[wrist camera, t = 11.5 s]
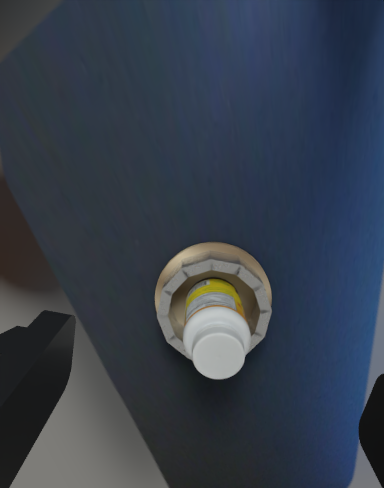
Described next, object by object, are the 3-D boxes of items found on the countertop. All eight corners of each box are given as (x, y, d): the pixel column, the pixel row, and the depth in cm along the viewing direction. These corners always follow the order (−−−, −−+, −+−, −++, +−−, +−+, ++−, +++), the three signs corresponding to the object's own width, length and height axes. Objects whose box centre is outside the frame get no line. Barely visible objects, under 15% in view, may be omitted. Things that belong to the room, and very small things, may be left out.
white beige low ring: (172, 242, 34) (169, 250, 31) (275, 262, 34) (282, 273, 31) (154, 335, 37) (150, 351, 34) (250, 354, 37) (254, 371, 34)
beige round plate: (166, 231, 35) (165, 233, 34) (282, 254, 35) (285, 257, 34) (147, 335, 38) (146, 340, 37) (254, 356, 38) (255, 361, 37)
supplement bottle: (231, 329, 36) (243, 396, 26) (180, 317, 36) (173, 380, 26) (246, 281, 35) (265, 333, 25) (193, 268, 35) (191, 315, 25)
